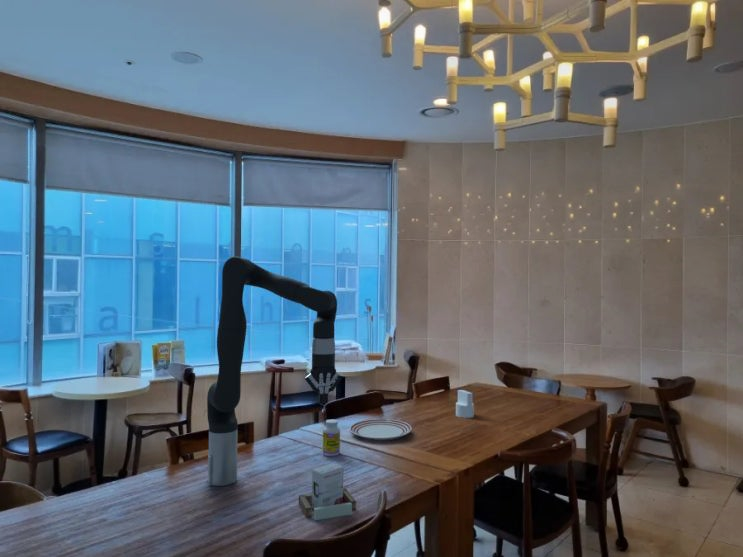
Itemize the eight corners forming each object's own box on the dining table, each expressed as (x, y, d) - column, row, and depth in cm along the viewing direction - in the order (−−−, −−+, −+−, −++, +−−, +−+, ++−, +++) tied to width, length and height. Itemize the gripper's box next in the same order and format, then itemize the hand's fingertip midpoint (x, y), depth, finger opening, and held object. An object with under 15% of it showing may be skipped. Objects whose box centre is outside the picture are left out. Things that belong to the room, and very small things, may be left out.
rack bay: (306, 516, 147) (306, 488, 147) (296, 500, 159) (297, 474, 159) (355, 509, 153) (356, 482, 153) (343, 493, 164) (343, 468, 164)
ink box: (333, 500, 159) (334, 462, 159) (344, 505, 155) (344, 466, 155) (310, 508, 153) (310, 468, 153) (320, 514, 149) (321, 473, 149)
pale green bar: (314, 520, 145) (314, 509, 145) (313, 518, 146) (313, 508, 146) (351, 514, 149) (351, 504, 149) (350, 512, 150) (350, 502, 150)
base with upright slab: (452, 414, 263) (452, 390, 263) (466, 412, 266) (467, 389, 266) (462, 418, 254) (462, 394, 254) (477, 416, 258) (477, 392, 258)
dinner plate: (388, 448, 209) (388, 440, 209) (336, 436, 225) (336, 428, 225) (423, 432, 231) (423, 425, 231) (374, 422, 247) (374, 415, 247)
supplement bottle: (324, 457, 197) (324, 423, 197) (321, 451, 203) (321, 419, 203) (341, 456, 199) (341, 422, 199) (337, 450, 205) (338, 418, 205)
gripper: (339, 349, 175) (338, 400, 175) (301, 350, 170) (300, 403, 170) (346, 352, 168) (345, 405, 168) (306, 354, 163) (306, 409, 163)
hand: (323, 404), depth 169 cm, fingers closed
